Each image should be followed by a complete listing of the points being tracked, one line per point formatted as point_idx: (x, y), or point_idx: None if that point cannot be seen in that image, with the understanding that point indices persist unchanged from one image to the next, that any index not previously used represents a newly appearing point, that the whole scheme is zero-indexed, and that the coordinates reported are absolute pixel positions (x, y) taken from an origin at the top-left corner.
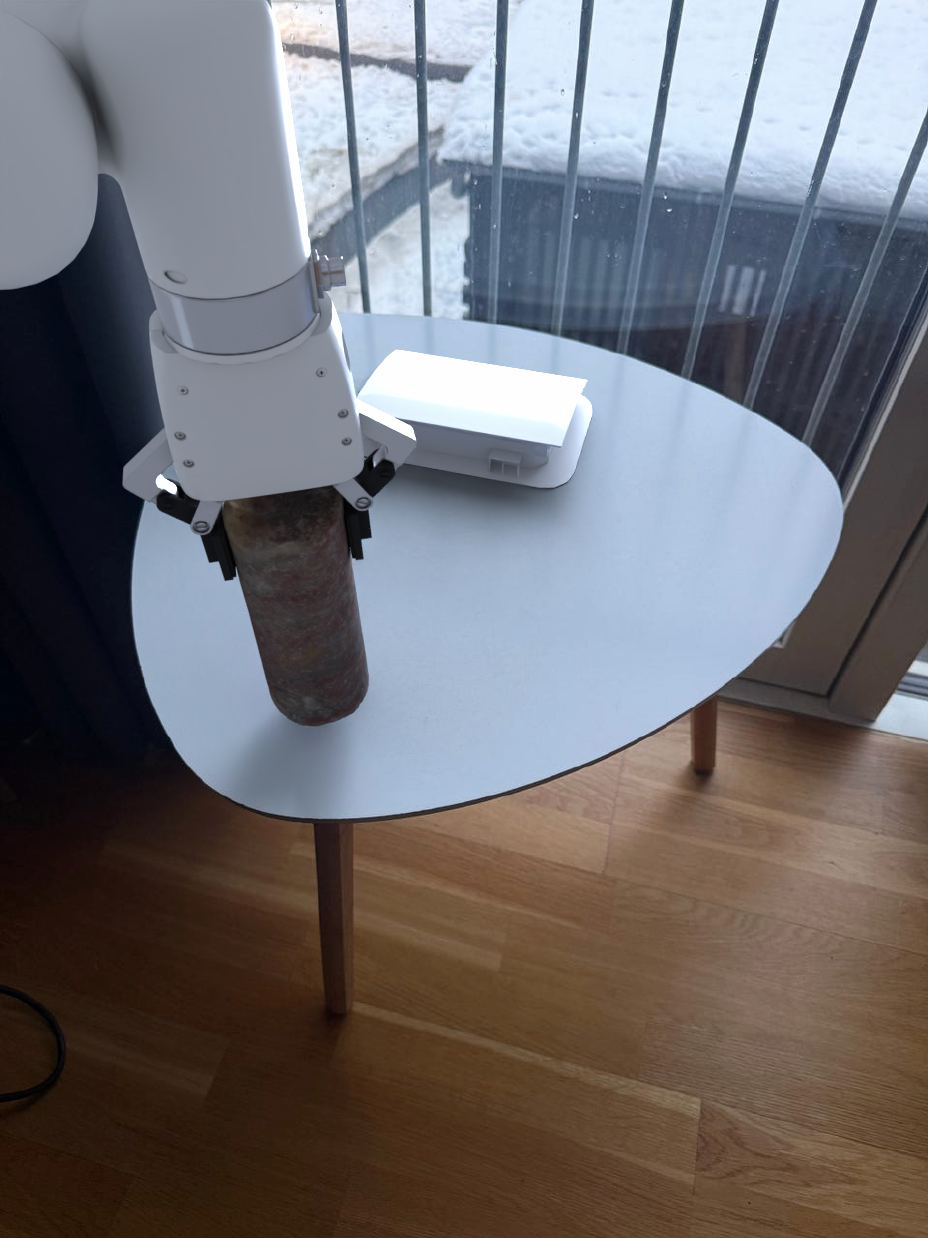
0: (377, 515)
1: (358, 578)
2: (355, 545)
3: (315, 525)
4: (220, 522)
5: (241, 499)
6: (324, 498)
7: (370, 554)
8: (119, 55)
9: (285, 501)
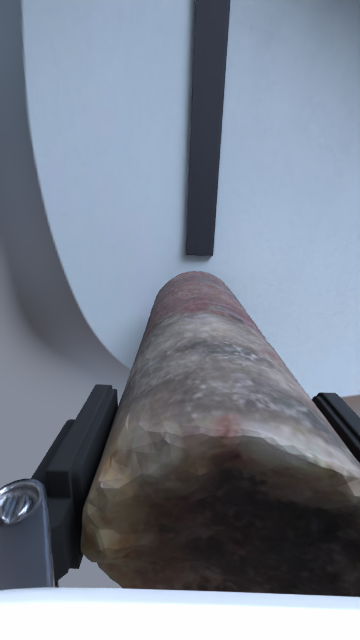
0: (303, 52)
1: (254, 162)
2: None
3: None
4: (79, 531)
5: (129, 514)
6: (343, 594)
7: (276, 126)
8: None
9: (238, 529)
